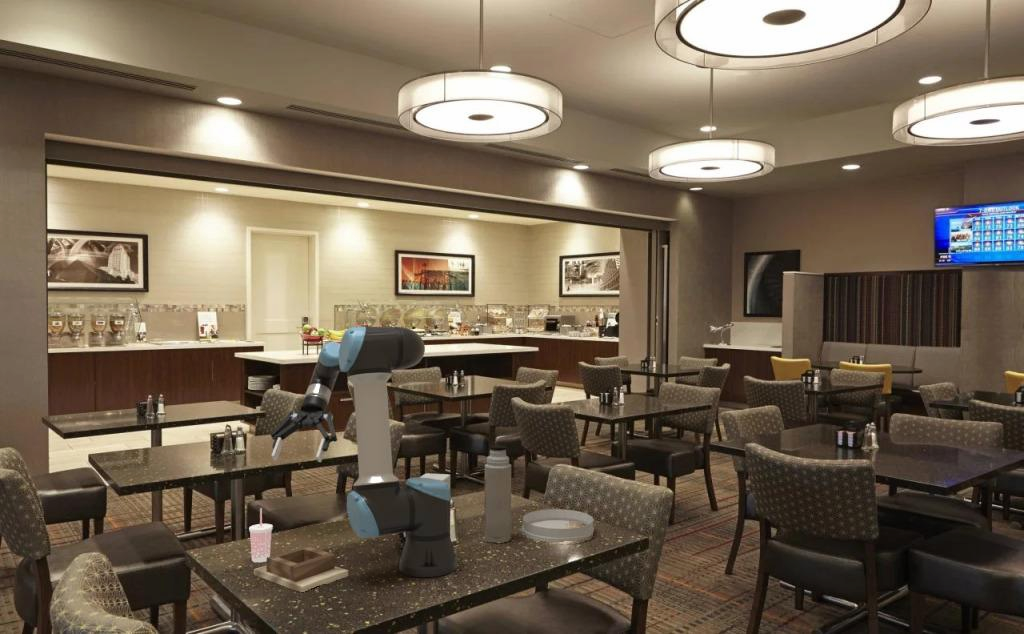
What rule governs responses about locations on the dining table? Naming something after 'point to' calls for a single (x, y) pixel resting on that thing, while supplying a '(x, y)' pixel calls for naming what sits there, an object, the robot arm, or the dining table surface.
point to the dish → (556, 525)
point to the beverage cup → (260, 540)
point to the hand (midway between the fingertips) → (296, 459)
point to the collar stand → (301, 569)
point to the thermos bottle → (497, 495)
